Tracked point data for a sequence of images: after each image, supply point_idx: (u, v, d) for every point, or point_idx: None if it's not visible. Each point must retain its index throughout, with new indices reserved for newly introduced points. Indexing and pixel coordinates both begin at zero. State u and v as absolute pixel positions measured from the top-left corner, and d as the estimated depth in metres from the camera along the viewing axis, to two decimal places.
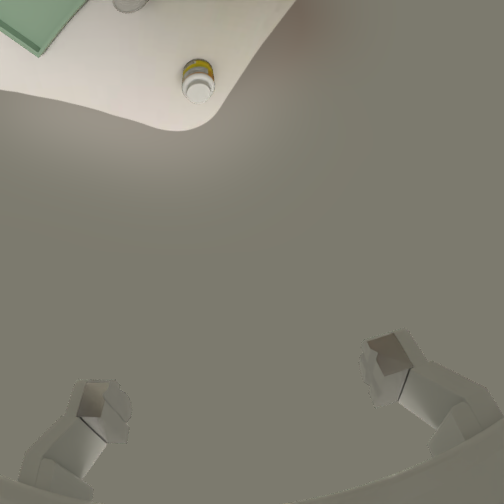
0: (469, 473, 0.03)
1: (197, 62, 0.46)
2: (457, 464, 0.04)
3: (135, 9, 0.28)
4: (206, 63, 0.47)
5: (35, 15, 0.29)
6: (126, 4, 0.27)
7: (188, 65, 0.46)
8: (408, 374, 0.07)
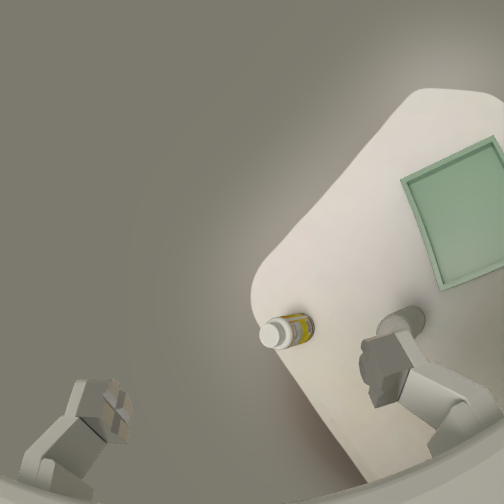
0: (469, 473, 0.03)
1: (307, 336, 0.52)
2: (457, 464, 0.04)
3: (378, 333, 0.35)
4: (304, 342, 0.53)
5: (451, 197, 0.39)
6: (388, 328, 0.34)
7: (308, 326, 0.52)
8: (408, 374, 0.07)
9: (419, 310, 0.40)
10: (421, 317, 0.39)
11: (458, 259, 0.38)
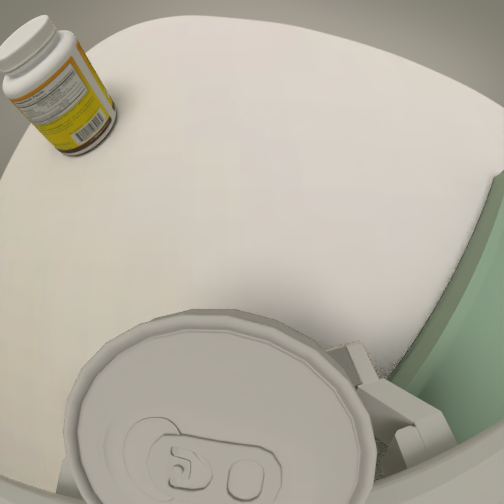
0: (469, 473, 0.03)
1: (66, 137, 0.16)
2: (457, 464, 0.04)
3: (126, 351, 0.04)
4: (54, 144, 0.17)
5: None
6: (223, 417, 0.03)
7: (90, 126, 0.17)
8: None
9: None
10: None
11: (460, 386, 0.13)
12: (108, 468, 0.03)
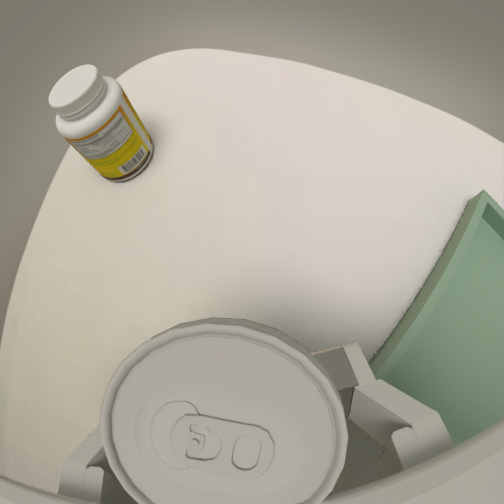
0: (469, 473, 0.03)
1: (114, 169, 0.22)
2: (457, 464, 0.04)
3: (159, 349, 0.05)
4: (101, 173, 0.23)
5: (498, 294, 0.19)
6: (233, 401, 0.05)
7: (134, 160, 0.22)
8: (353, 392, 0.07)
9: None
10: None
11: (428, 370, 0.19)
12: (136, 442, 0.05)
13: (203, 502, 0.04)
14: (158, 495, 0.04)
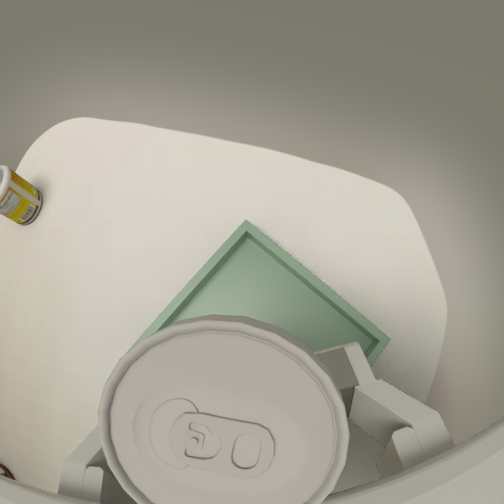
0: (469, 473, 0.03)
1: (17, 219, 0.31)
2: (457, 464, 0.04)
3: (158, 346, 0.05)
4: (13, 220, 0.32)
5: (262, 311, 0.29)
6: (233, 399, 0.05)
7: (26, 213, 0.32)
8: (353, 392, 0.07)
9: None
10: None
11: None
12: (135, 441, 0.05)
13: (202, 502, 0.04)
14: (157, 494, 0.04)
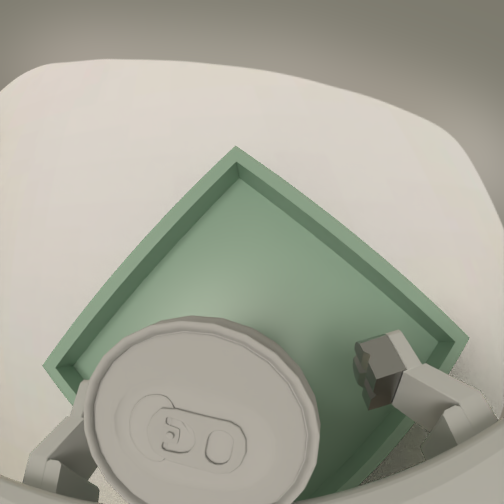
0: (469, 473, 0.03)
1: None
2: (457, 464, 0.04)
3: (138, 344, 0.05)
4: None
5: (262, 296, 0.17)
6: (206, 396, 0.05)
7: None
8: (401, 377, 0.07)
9: None
10: None
11: None
12: (116, 433, 0.05)
13: (179, 494, 0.04)
14: (136, 486, 0.04)
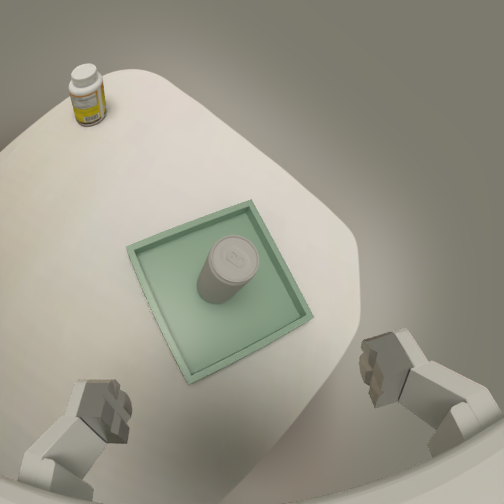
0: (469, 473, 0.03)
1: (81, 117, 0.39)
2: (457, 464, 0.04)
3: (232, 237, 0.29)
4: (75, 116, 0.40)
5: None
6: (241, 251, 0.29)
7: (92, 117, 0.40)
8: (408, 374, 0.07)
9: None
10: (229, 298, 0.36)
11: (164, 271, 0.38)
12: (219, 252, 0.28)
13: (226, 269, 0.28)
14: (217, 265, 0.28)
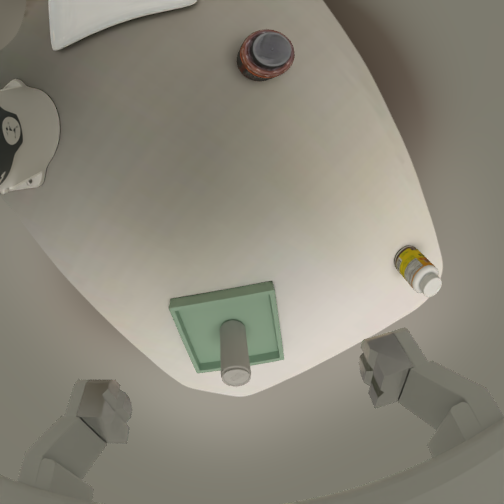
0: (469, 473, 0.03)
1: (402, 258, 0.50)
2: (457, 464, 0.04)
3: (248, 378, 0.46)
4: (407, 251, 0.51)
5: None
6: (239, 380, 0.47)
7: (398, 266, 0.52)
8: (408, 374, 0.07)
9: None
10: None
11: (251, 303, 0.54)
12: (241, 372, 0.46)
13: (230, 374, 0.45)
14: (234, 371, 0.45)
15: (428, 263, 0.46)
